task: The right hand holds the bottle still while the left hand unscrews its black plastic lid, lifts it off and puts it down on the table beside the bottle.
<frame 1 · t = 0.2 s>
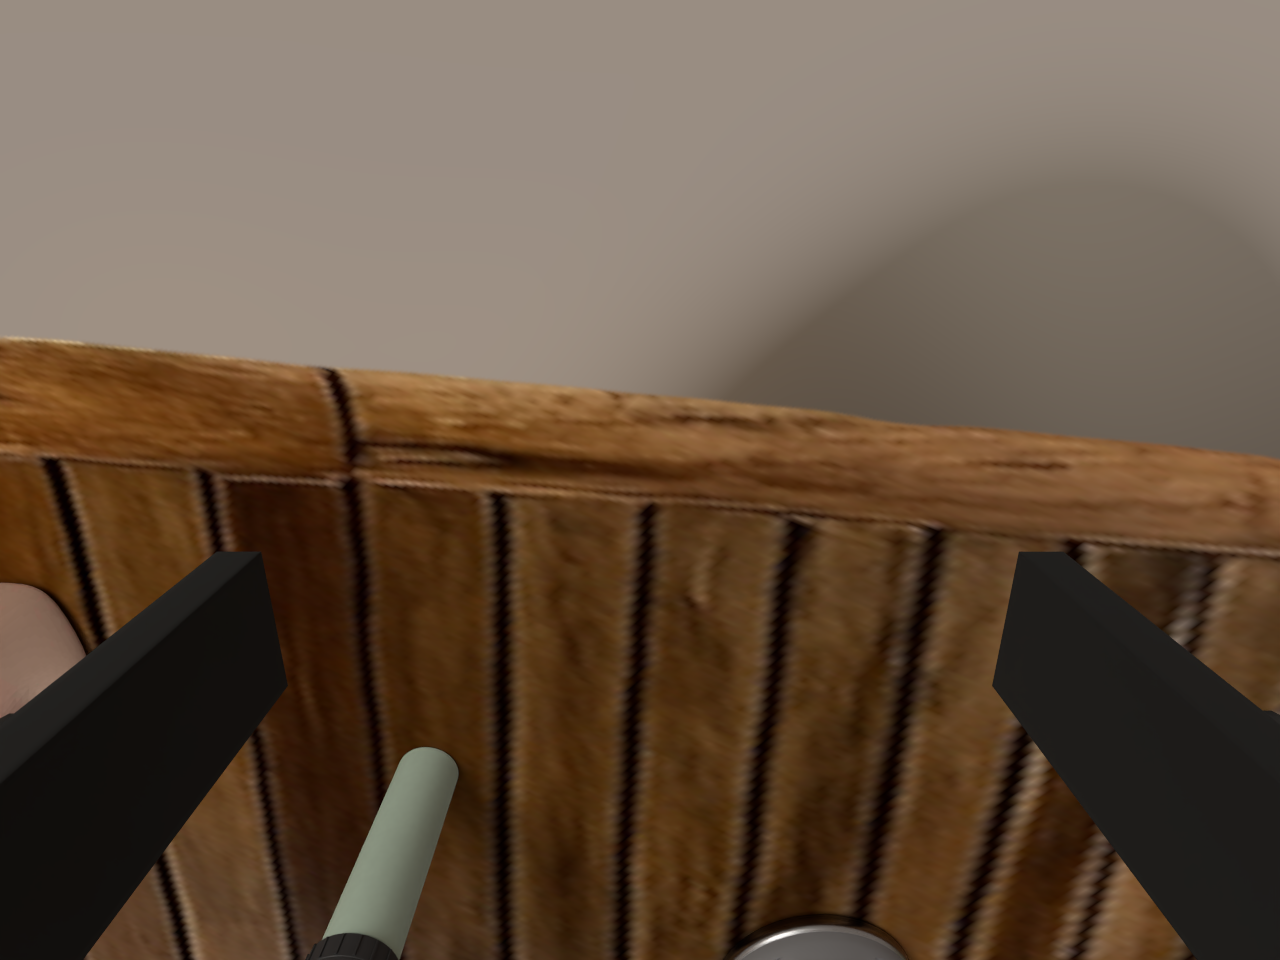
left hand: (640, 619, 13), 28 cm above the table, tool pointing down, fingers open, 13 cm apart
bottle: (428, 770, 49), on the table
anatomical model: (0, 665, 46), on the table
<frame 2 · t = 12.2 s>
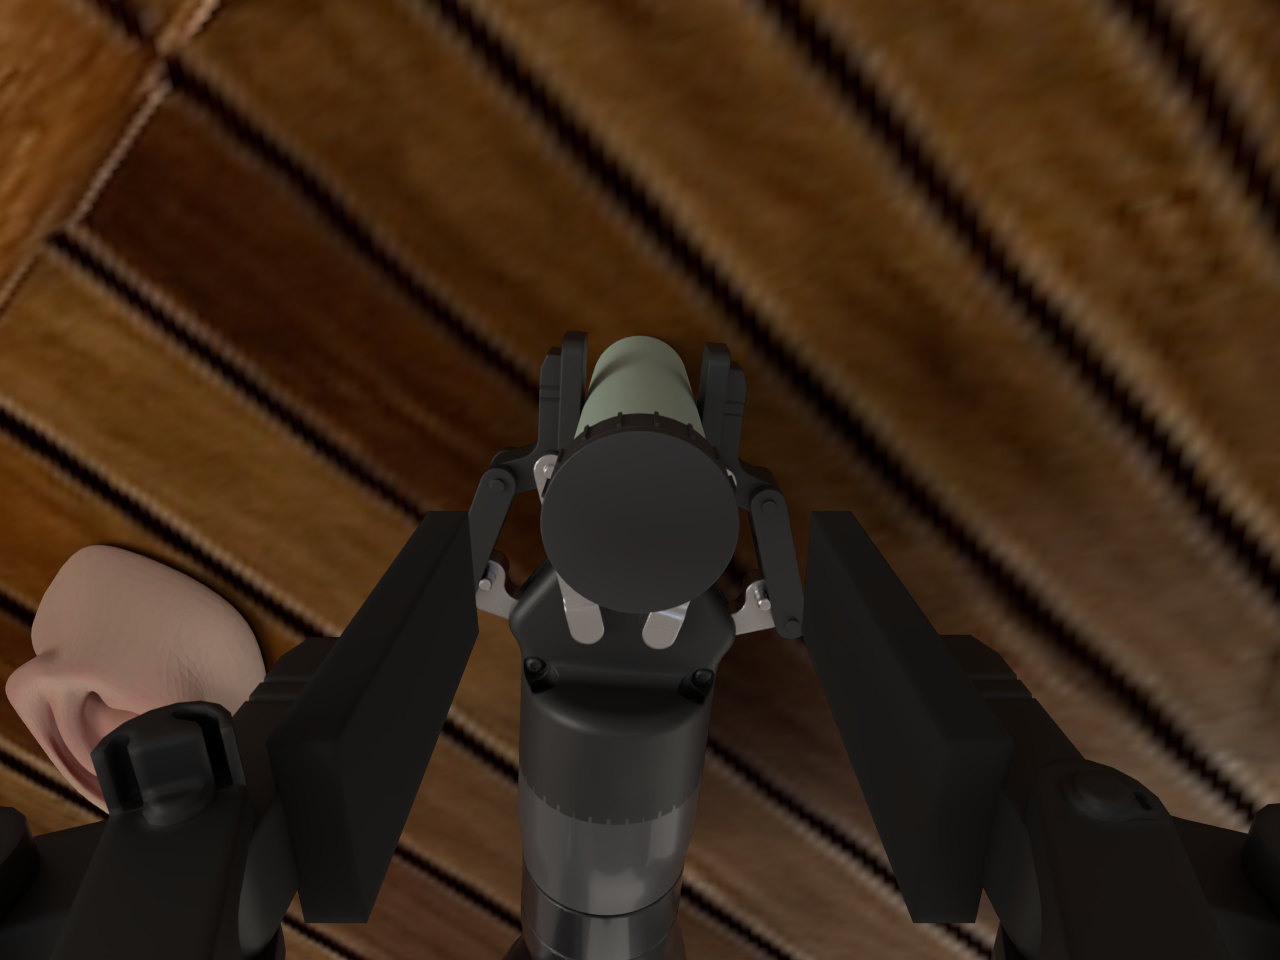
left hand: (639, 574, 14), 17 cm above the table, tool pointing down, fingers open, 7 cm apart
right hand: (645, 343, 24), fingers closed on bottle, 4 cm apart
lid: (639, 520, 17), point 15 cm above the table, screwed on, not yet turned
bottle: (639, 383, 31), on the table, touching right hand
anatomical model: (160, 670, 36), on the table
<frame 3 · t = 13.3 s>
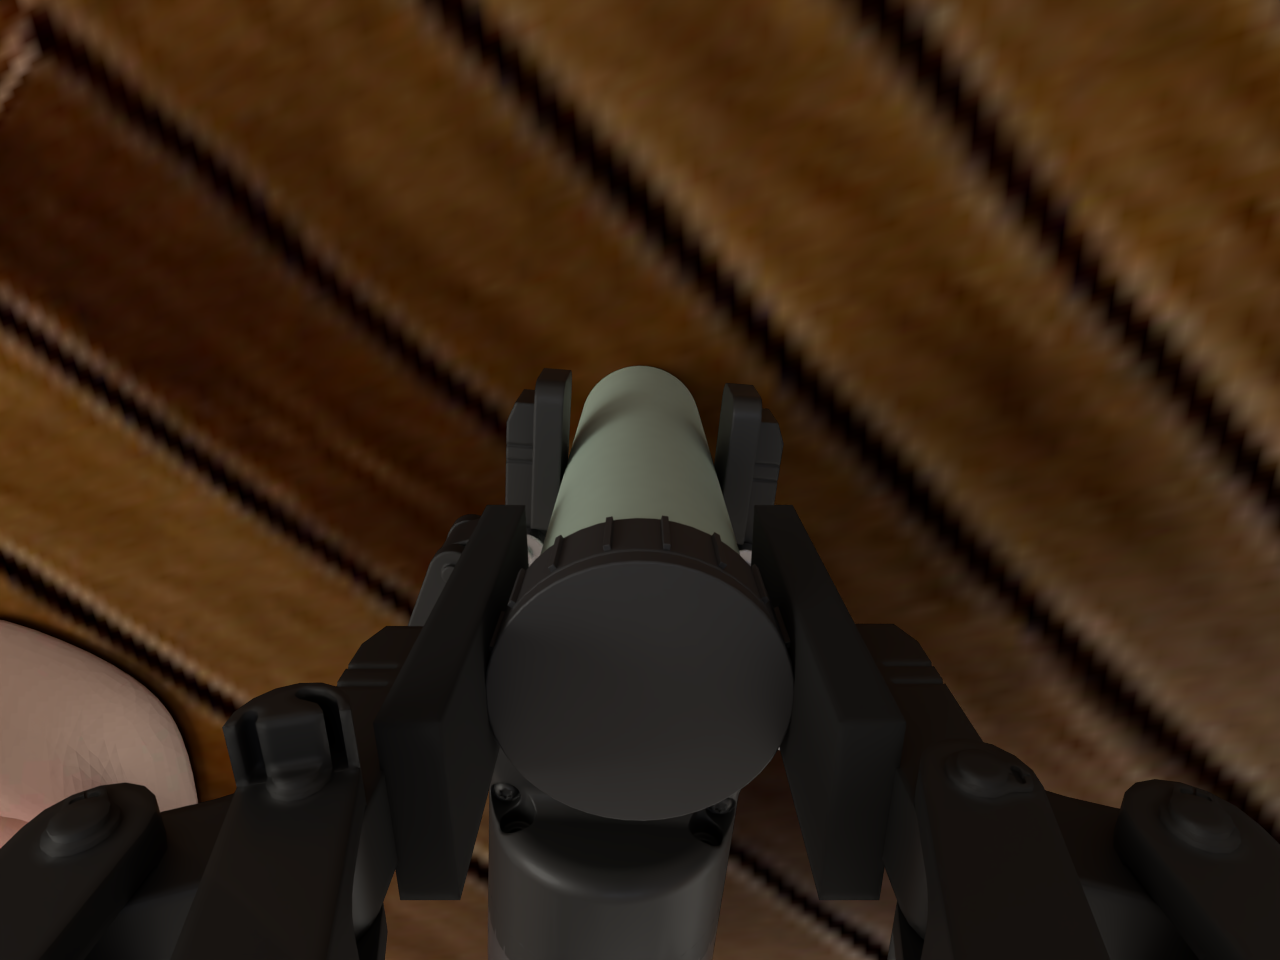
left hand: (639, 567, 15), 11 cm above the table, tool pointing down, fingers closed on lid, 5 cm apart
lid: (639, 686, 11), point 15 cm above the table, screwed on, not yet turned, touching left hand
bottle: (640, 423, 25), on the table, touching right hand
anatomical model: (65, 761, 30), on the table
when the left hand's fingers open (11 cm above the table, at t = 14.7 s): lid stays where it is, point 15 cm above the table.
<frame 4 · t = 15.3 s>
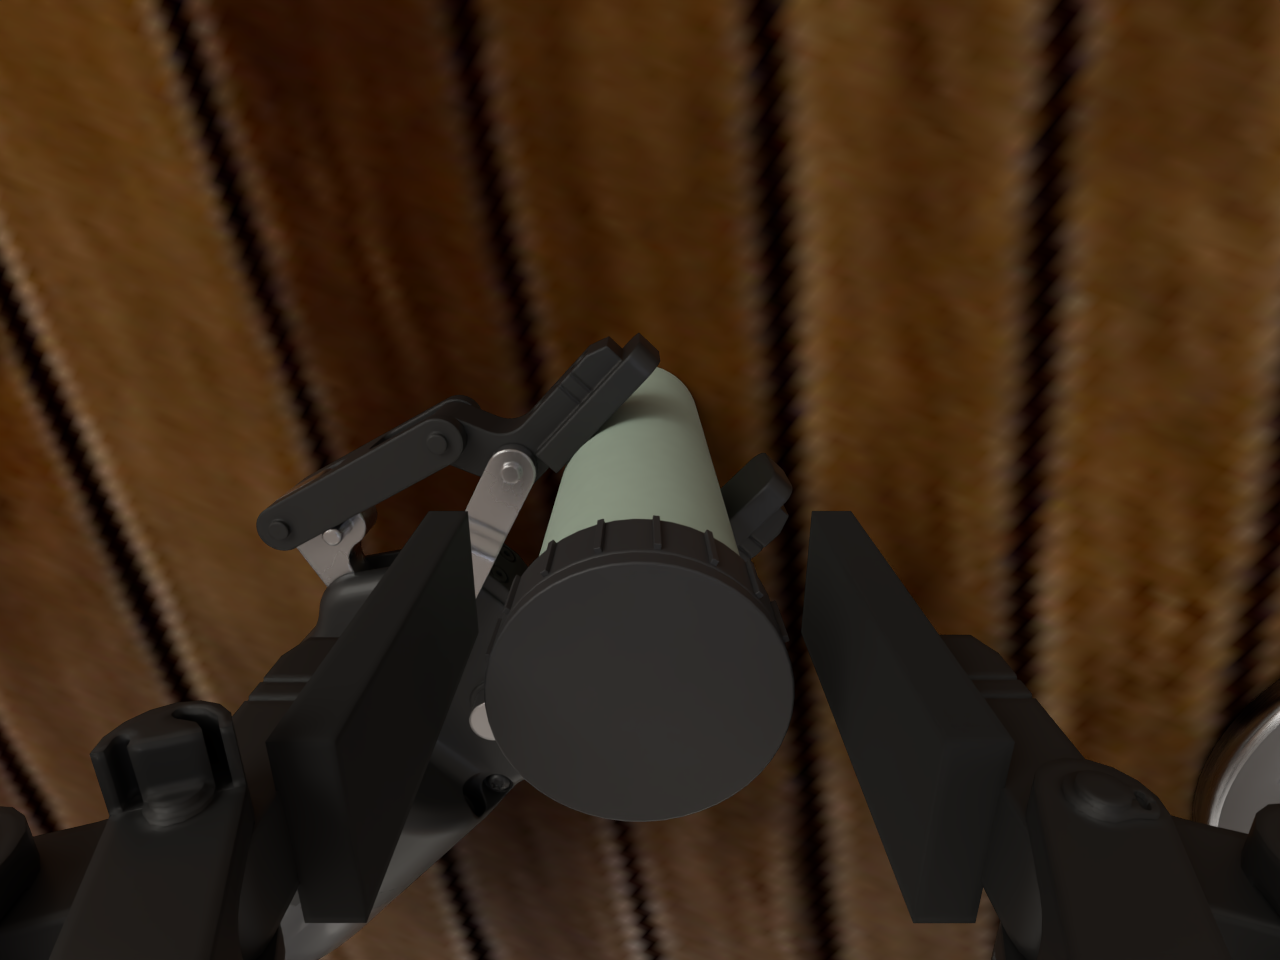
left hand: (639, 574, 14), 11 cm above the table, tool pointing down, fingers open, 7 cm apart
lid: (639, 687, 11), point 15 cm above the table, turned 84° so far, risen 0.2 cm, still on its thread
bottle: (639, 421, 25), on the table, touching right hand
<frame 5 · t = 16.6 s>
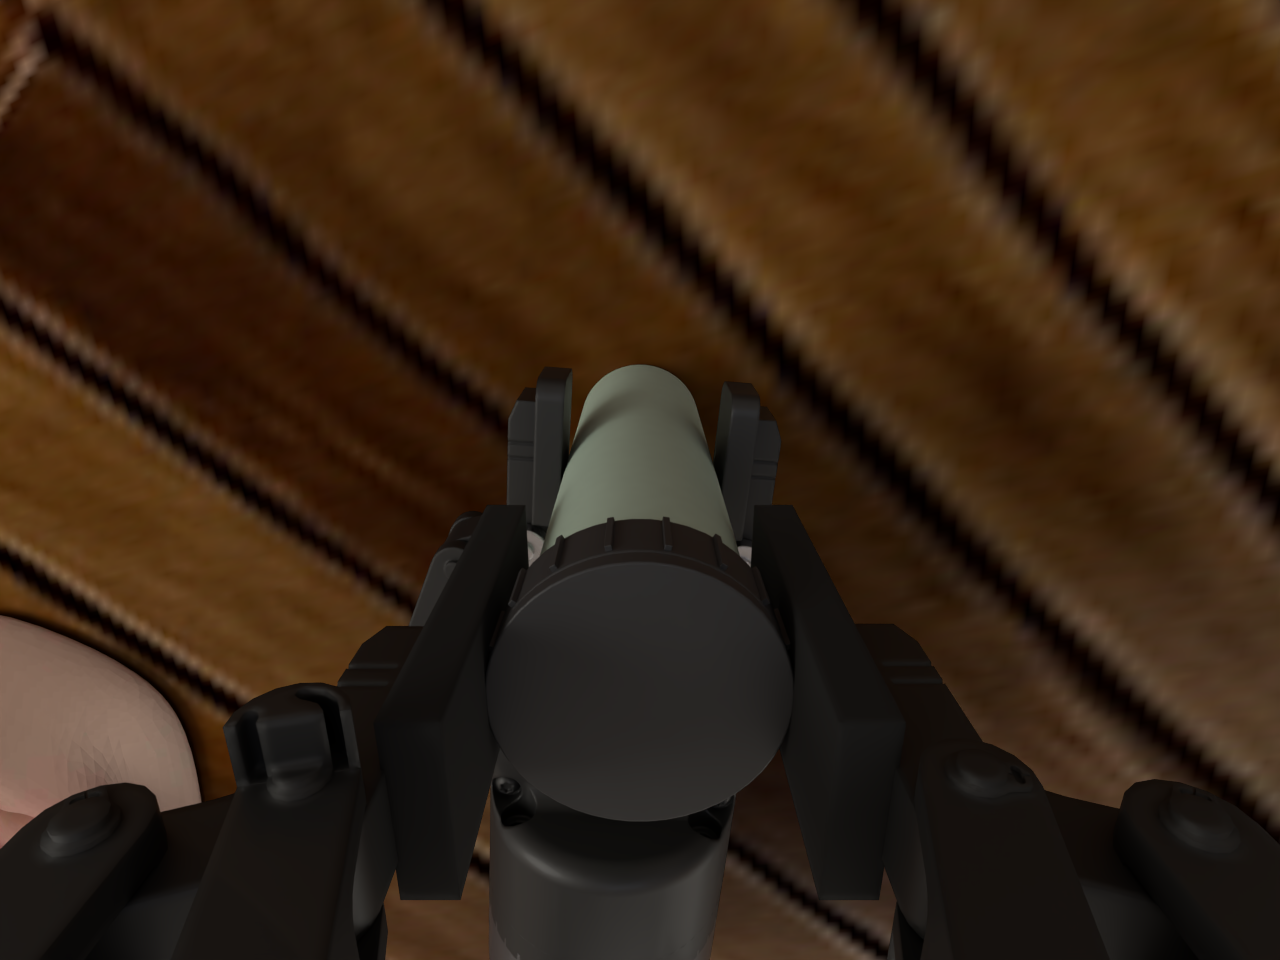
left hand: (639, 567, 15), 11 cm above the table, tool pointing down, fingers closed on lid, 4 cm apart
lid: (639, 687, 11), point 15 cm above the table, turned 84° so far, risen 0.2 cm, still on its thread, touching left hand
bottle: (639, 422, 25), on the table, touching right hand
anatomical model: (68, 757, 30), on the table
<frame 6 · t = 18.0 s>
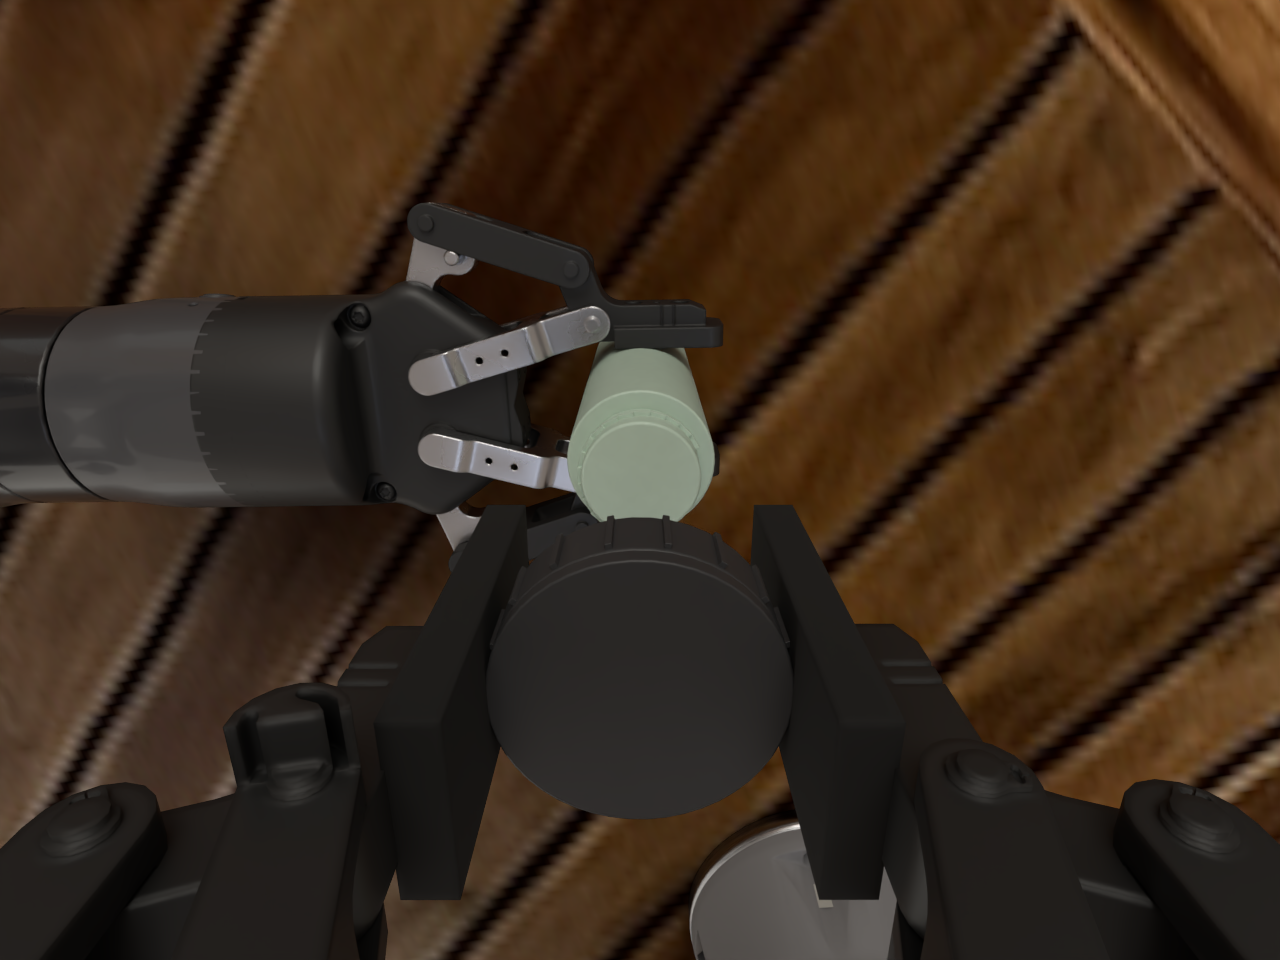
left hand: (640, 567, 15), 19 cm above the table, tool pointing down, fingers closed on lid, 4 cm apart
right hand: (716, 396, 26), fingers closed on bottle, 4 cm apart
lid: (639, 685, 11), point 23 cm above the table, off its thread, touching left hand
bottle: (640, 362, 32), on the table, touching right hand
when the left hand's fingers open (0 cm above the table, at t = 23.3 s): lid drops 3 cm, point 1 cm above the table.
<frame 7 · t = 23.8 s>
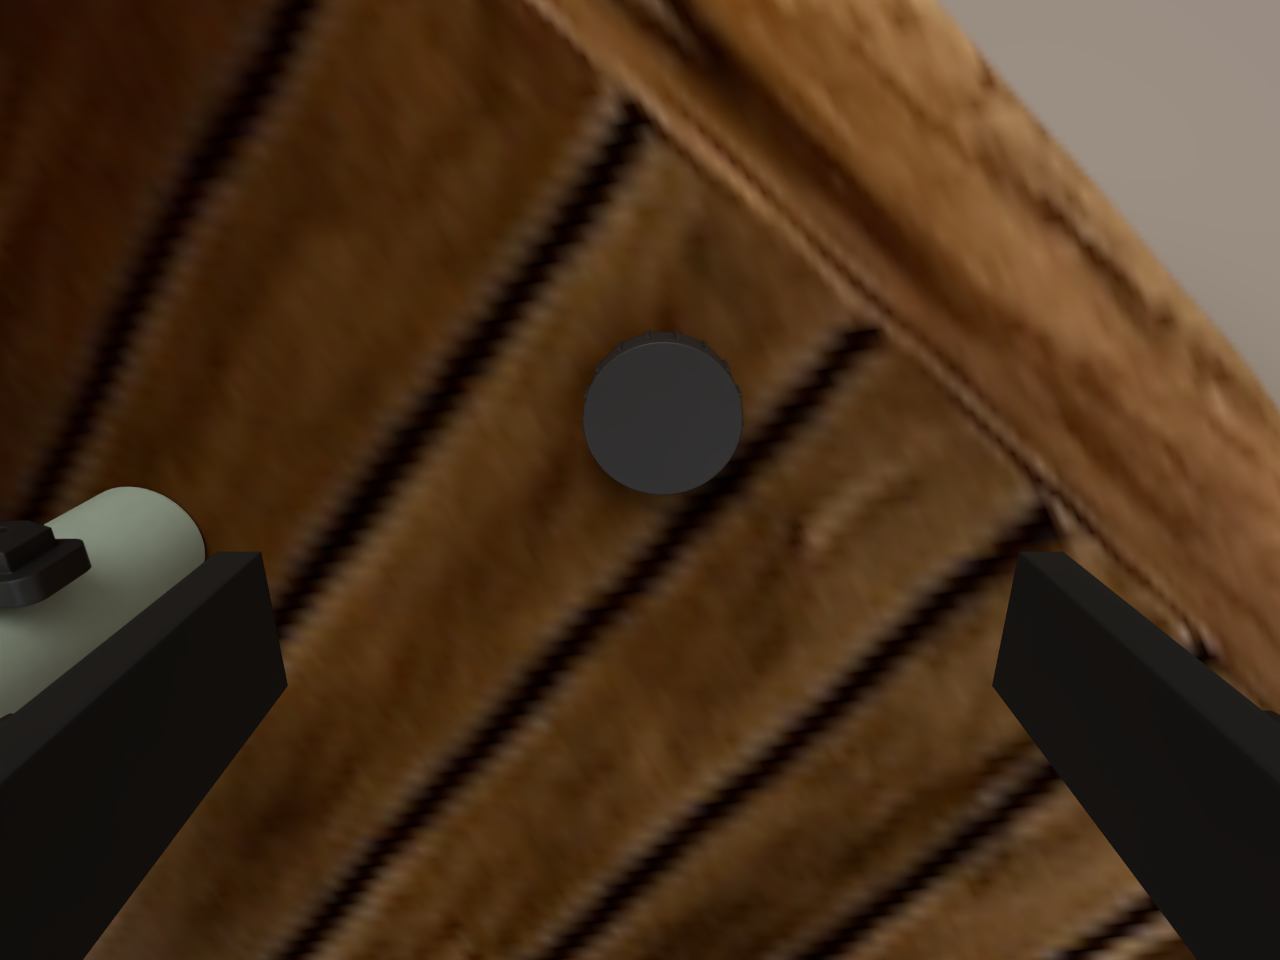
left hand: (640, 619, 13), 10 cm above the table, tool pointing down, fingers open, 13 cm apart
lid: (662, 418, 21), point 1 cm above the table, off its thread
bottle: (145, 541, 24), on the table, touching right hand
when the right hand's fingers open (6 cm above the table, at t = 23.8 s): bottle stays where it is, on the table.
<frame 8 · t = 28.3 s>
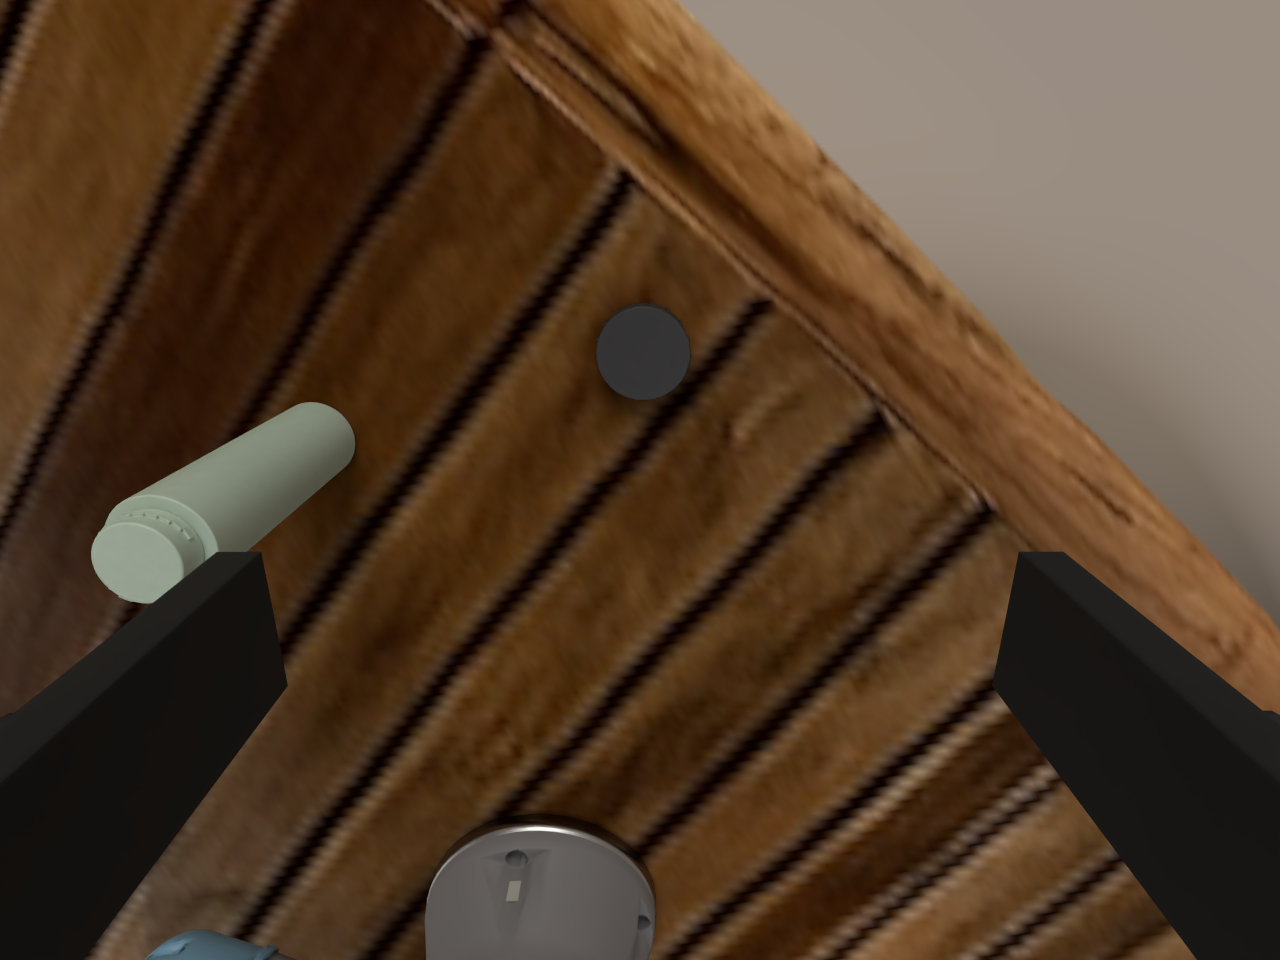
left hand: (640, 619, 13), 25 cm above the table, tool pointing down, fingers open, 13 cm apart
lid: (643, 353, 35), point 1 cm above the table, off its thread
bottle: (317, 438, 38), on the table
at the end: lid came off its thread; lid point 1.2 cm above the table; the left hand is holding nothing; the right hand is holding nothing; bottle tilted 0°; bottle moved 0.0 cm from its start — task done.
